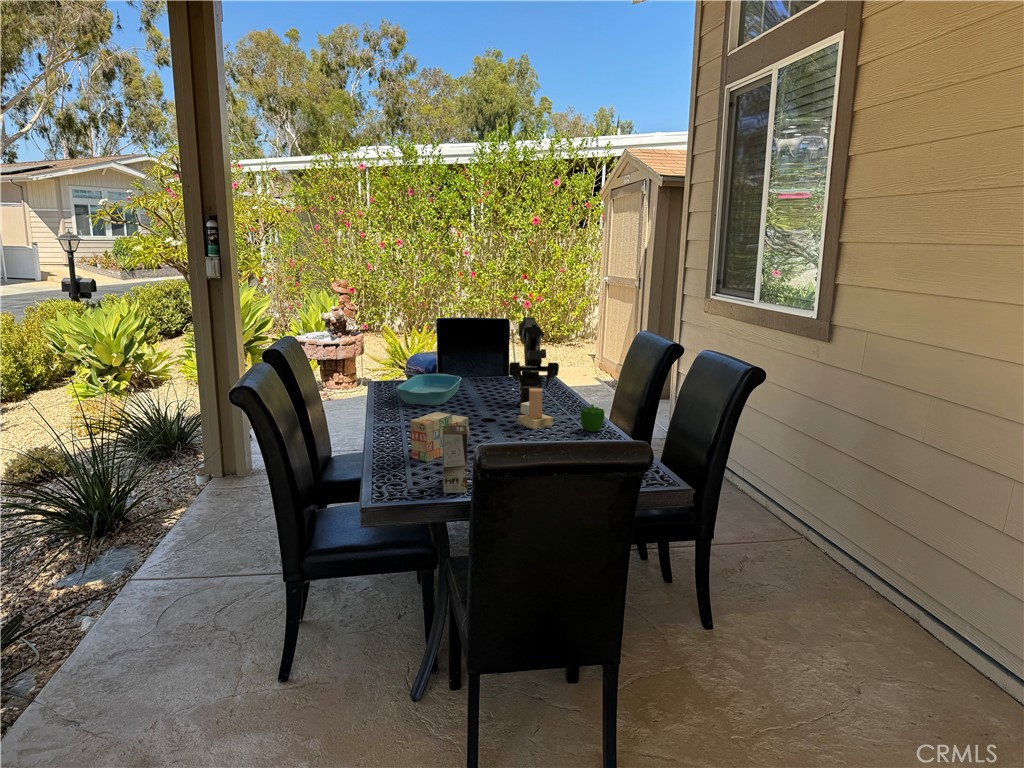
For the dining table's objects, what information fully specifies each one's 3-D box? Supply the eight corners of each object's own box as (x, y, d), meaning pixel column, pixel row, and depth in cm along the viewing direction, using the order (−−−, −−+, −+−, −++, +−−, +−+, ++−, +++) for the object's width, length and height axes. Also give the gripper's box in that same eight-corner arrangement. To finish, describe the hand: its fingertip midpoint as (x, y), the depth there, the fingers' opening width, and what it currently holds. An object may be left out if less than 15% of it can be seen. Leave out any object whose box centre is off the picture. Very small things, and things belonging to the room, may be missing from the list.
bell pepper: (585, 425, 237) (586, 399, 235) (606, 429, 233) (608, 402, 231) (575, 431, 230) (576, 403, 228) (597, 434, 226) (598, 406, 224)
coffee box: (467, 493, 171) (467, 433, 168) (443, 493, 170) (442, 434, 167) (466, 480, 180) (466, 424, 177) (443, 481, 179) (442, 424, 176)
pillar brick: (529, 414, 239) (529, 388, 237) (541, 414, 239) (541, 388, 237) (529, 418, 235) (529, 391, 232) (542, 418, 235) (542, 391, 233)
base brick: (536, 421, 244) (537, 412, 243) (552, 426, 237) (553, 417, 236) (518, 425, 238) (518, 415, 238) (533, 430, 232) (534, 421, 231)
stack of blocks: (454, 441, 216) (454, 405, 213) (469, 445, 213) (469, 408, 210) (411, 458, 198) (410, 419, 196) (426, 462, 195) (426, 422, 192)
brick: (529, 411, 258) (529, 401, 257) (538, 413, 254) (539, 403, 253) (520, 413, 254) (520, 403, 253) (530, 415, 251) (530, 405, 250)
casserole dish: (445, 409, 258) (444, 392, 257) (391, 406, 262) (390, 389, 260) (466, 390, 294) (466, 374, 293) (418, 387, 298) (418, 372, 296)
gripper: (509, 341, 244) (510, 376, 236) (559, 341, 245) (561, 376, 237) (508, 358, 254) (509, 392, 245) (556, 358, 255) (558, 392, 246)
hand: (534, 388), depth 243 cm, fingers open, 9 cm apart
